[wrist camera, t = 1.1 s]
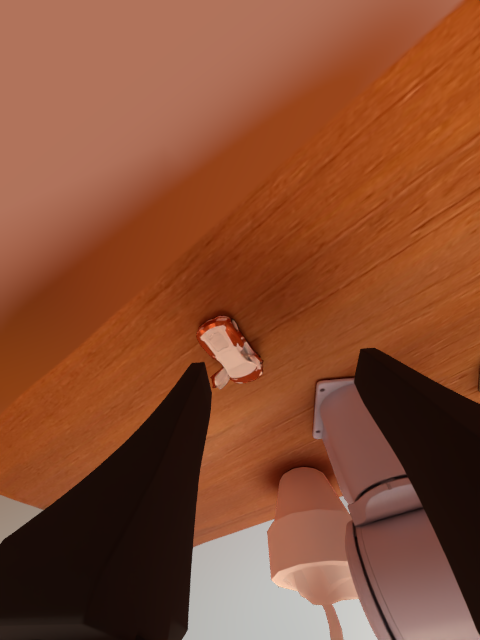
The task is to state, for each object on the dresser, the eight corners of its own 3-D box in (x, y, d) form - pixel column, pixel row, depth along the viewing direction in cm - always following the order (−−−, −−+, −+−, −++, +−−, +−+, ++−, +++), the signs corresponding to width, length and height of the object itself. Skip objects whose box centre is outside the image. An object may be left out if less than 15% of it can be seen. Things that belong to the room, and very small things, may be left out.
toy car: (231, 384, 22) (229, 410, 20) (186, 328, 19) (177, 349, 16) (276, 366, 21) (281, 390, 19) (237, 302, 18) (236, 320, 15)
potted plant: (336, 493, 34) (511, 1013, 12) (264, 497, 35) (307, 1003, 13) (349, 447, 28) (739, 1316, 6) (260, 452, 29) (332, 1277, 7)
